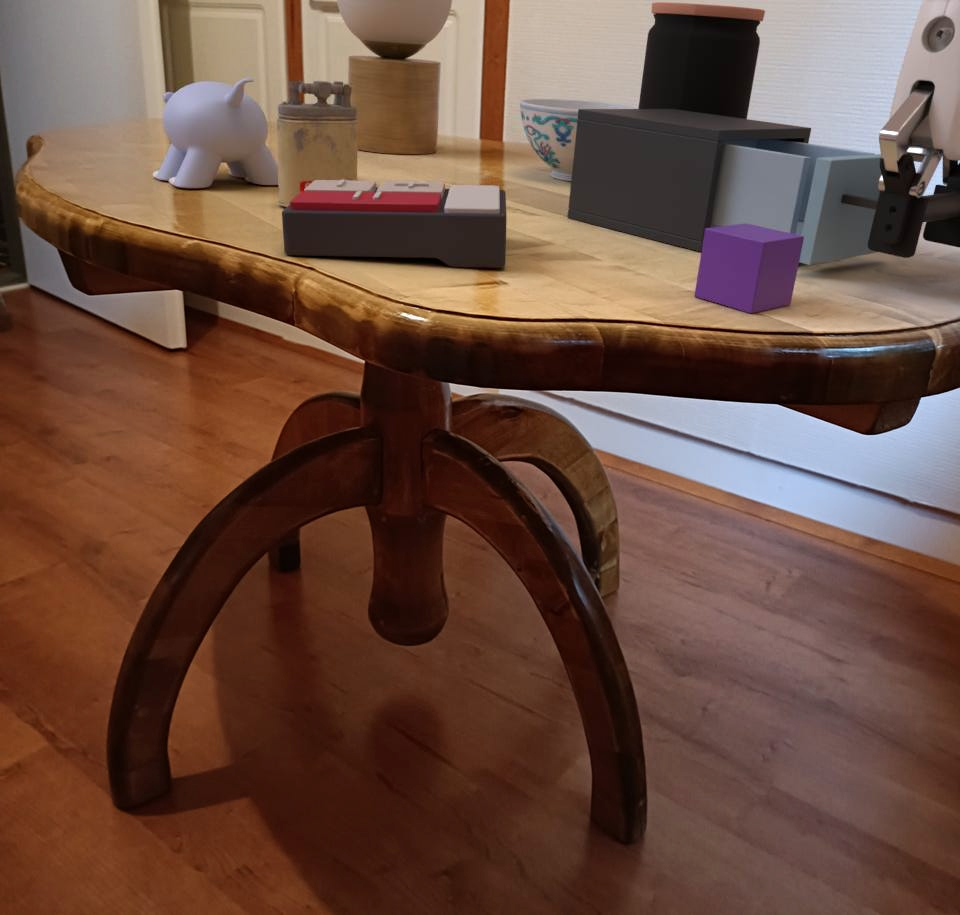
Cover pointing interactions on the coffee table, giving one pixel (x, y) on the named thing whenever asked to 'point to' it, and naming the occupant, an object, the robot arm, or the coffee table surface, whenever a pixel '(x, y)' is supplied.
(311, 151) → the lighter
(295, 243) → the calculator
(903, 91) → the robot arm
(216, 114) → the hippopotamus toy
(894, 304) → the coffee table surface
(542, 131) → the chinaware
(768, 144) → the grey drawer
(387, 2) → the lamp
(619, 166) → the drawer cabinet
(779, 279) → the purple cube
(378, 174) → the coffee table surface
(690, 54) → the coffee jar
